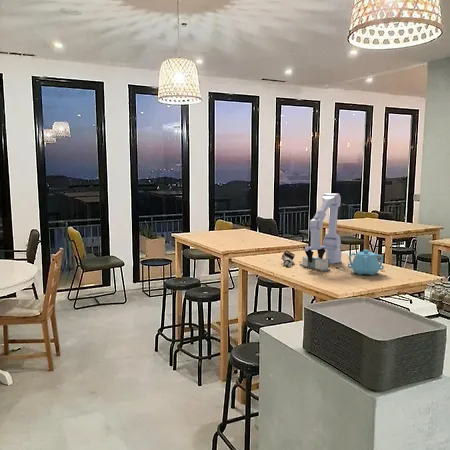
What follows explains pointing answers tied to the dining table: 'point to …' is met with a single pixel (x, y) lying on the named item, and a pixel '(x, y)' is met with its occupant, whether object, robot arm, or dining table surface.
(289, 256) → the figurine
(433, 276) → the dining table surface
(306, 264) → the mounted module
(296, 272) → the dining table surface
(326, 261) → the block
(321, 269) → the rail
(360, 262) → the decorative pot
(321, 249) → the robot arm
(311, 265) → the block
